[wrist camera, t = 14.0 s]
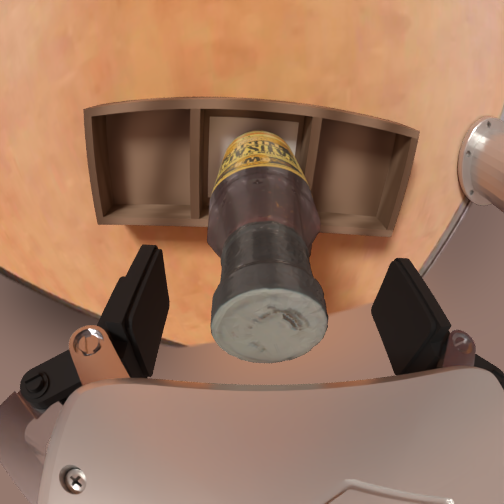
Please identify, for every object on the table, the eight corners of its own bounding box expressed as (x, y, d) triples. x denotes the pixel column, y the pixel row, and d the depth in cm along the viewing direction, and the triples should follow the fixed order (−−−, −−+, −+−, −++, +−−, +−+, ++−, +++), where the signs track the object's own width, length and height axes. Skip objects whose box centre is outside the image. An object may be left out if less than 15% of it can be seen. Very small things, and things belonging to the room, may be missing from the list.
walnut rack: (399, 123, 24) (419, 131, 21) (376, 219, 31) (391, 237, 27) (102, 104, 22) (83, 109, 19) (112, 207, 29) (97, 224, 25)
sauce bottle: (286, 122, 24) (390, 234, 7) (294, 184, 27) (367, 361, 11) (214, 134, 24) (155, 273, 8) (228, 195, 27) (214, 385, 11)
